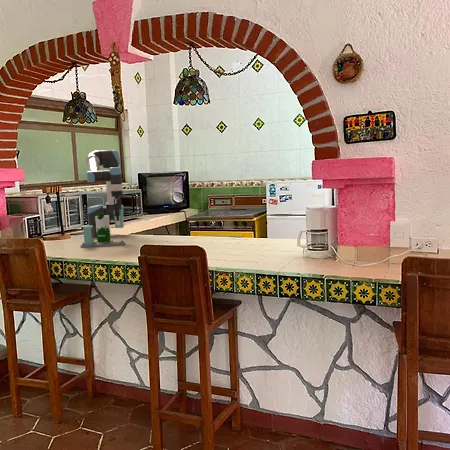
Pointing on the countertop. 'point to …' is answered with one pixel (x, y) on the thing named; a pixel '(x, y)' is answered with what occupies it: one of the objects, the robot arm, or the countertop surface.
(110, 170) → the robot arm
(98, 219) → the milk carton
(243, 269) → the countertop surface
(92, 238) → the teal rectangular block
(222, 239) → the countertop surface
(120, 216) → the finger free
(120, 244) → the rail
